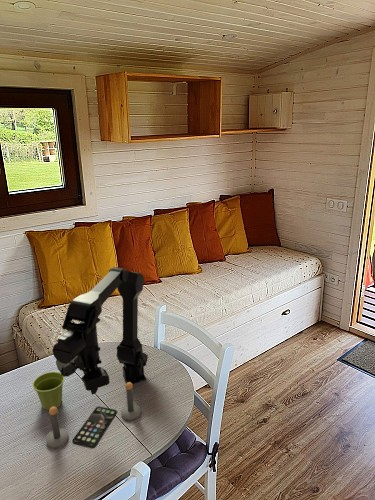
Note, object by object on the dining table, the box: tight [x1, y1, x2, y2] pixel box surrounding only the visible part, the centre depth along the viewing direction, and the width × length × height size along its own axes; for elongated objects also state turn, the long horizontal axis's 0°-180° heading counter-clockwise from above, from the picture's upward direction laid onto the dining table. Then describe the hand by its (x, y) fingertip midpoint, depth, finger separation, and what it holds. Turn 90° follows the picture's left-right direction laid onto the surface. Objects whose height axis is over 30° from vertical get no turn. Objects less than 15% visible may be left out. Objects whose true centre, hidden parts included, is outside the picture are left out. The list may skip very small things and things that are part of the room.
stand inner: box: [120, 382, 142, 421], centre depth 116 cm, size 6×6×11 cm
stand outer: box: [45, 407, 69, 449], centre depth 106 cm, size 6×6×11 cm
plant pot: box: [32, 371, 65, 411], centre depth 120 cm, size 9×9×9 cm
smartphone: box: [72, 405, 118, 449], centre depth 113 cm, size 7×1×15 cm
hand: (92, 389), depth 109 cm, fingers open, 4 cm apart
